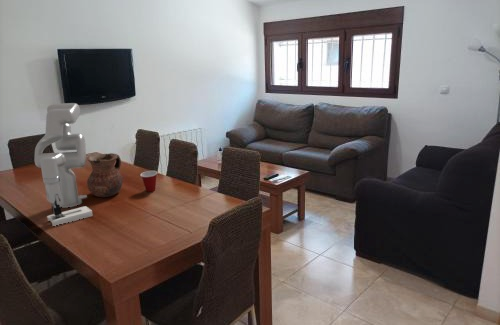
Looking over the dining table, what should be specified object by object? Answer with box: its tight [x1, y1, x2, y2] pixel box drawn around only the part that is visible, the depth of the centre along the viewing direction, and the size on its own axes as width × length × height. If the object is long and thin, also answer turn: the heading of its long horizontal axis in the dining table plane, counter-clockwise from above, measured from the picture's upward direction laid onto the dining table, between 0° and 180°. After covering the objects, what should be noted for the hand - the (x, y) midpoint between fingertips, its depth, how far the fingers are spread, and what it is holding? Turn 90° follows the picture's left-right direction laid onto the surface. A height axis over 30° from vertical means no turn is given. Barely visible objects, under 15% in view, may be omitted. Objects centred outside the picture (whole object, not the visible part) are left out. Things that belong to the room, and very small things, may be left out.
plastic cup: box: [140, 170, 158, 193], centre depth 241 cm, size 11×11×12 cm
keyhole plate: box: [46, 205, 94, 227], centre depth 200 cm, size 20×10×3 cm, turn 132°
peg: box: [51, 201, 62, 220], centre depth 194 cm, size 4×4×12 cm
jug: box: [86, 152, 124, 198], centre depth 235 cm, size 22×21×25 cm
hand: (57, 213), depth 195 cm, fingers closed on peg, 3 cm apart
